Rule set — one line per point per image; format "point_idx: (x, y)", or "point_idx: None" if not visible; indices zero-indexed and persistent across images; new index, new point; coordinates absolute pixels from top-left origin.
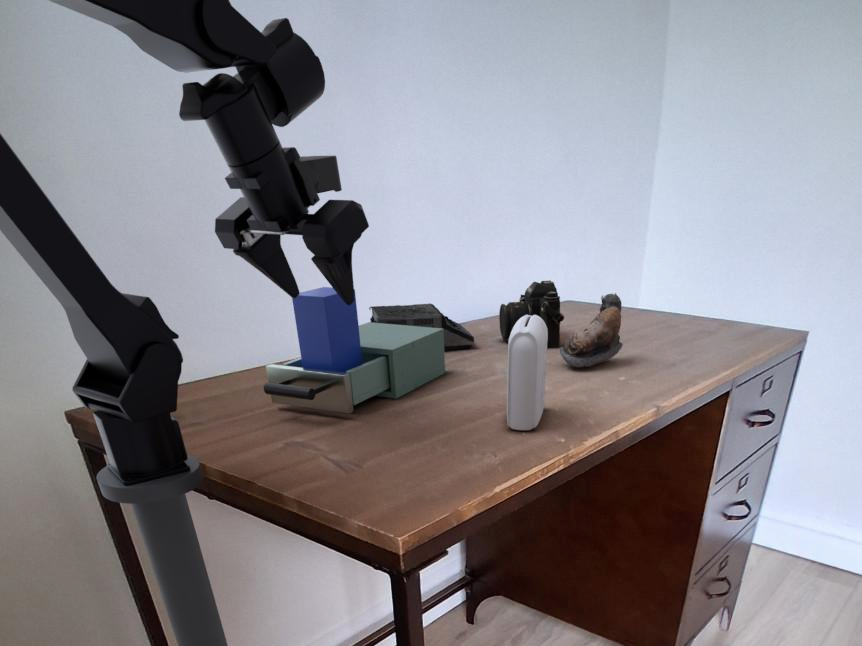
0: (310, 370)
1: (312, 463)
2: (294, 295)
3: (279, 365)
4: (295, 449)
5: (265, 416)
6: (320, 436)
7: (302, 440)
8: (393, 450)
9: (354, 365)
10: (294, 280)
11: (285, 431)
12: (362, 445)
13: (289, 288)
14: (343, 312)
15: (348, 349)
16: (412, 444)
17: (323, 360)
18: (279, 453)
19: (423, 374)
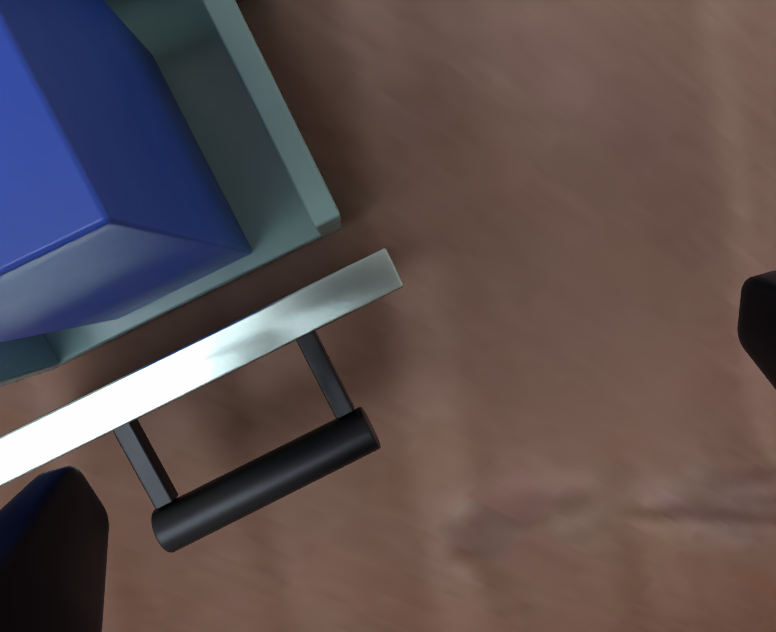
0: (219, 362)
1: (661, 565)
2: (102, 527)
3: (25, 432)
4: (525, 553)
5: (143, 490)
6: (469, 438)
7: (465, 501)
8: (730, 328)
9: (154, 86)
10: (20, 556)
11: (347, 505)
12: (630, 377)
13: (91, 607)
14: (53, 23)
15: (142, 94)
16: (727, 252)
17: (177, 270)
18: (524, 604)
19: None
